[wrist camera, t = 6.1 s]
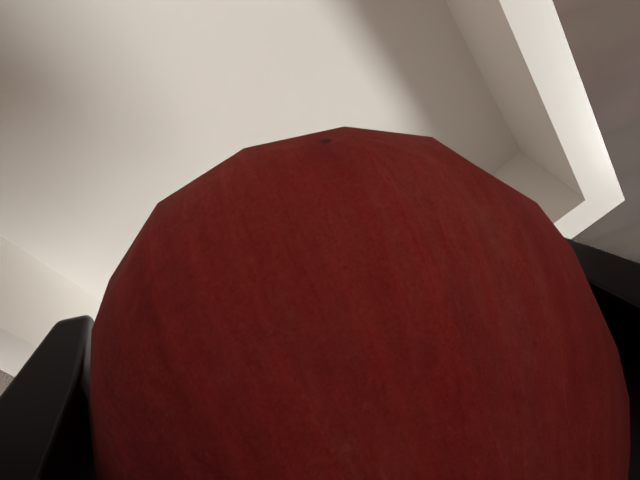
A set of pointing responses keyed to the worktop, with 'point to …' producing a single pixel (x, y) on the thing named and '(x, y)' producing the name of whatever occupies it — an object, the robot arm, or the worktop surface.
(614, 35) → the worktop surface
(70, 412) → the robot arm
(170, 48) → the open white tray
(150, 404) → the onion
